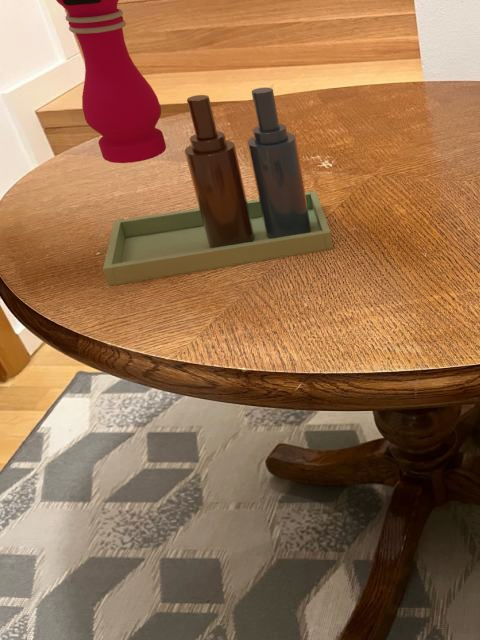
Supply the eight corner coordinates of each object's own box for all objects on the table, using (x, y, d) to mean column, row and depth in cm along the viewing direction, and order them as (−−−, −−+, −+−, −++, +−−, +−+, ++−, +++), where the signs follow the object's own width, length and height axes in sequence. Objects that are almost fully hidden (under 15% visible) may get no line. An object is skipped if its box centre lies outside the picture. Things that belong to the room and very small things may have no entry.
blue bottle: (268, 244, 83) (237, 99, 74) (264, 226, 87) (235, 87, 78) (313, 237, 84) (289, 93, 75) (308, 219, 88) (284, 81, 79)
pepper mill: (99, 170, 72) (23, -60, 61) (97, 148, 78) (27, -67, 66) (175, 157, 74) (115, -67, 63) (167, 137, 80) (111, -73, 69)
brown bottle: (208, 254, 81) (170, 107, 72) (208, 235, 86) (172, 94, 76) (256, 246, 83) (224, 101, 73) (253, 228, 87) (223, 88, 78)
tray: (110, 289, 77) (102, 268, 75) (120, 239, 87) (113, 220, 85) (333, 252, 82) (330, 232, 80) (319, 209, 92) (316, 190, 90)
